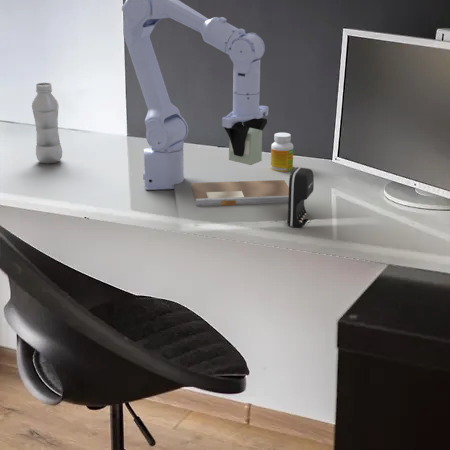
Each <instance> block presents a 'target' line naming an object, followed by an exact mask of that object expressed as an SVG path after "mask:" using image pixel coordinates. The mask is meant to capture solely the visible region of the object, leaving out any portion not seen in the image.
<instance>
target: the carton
mask: <svg viewBox="0 0 450 450" xmlns="http://www.w3.org/2000/svg"><path fill="white" fill-rule="evenodd" d="M262 151H263V131H262V130H259V129H254V128H249V131H248V133H247V136H246V140H245V150H244V155H243V156H242V157H240V156H236V155H234V152H233V148H232V144H231V141H230V138H229V137H228V160H229V161H232V162H235V163H239V164H240V163H241V164H244V165H248V166H253V165H255V164H257V163H259V162H262V160H263V159H262V158H263V157H262V155H263V154H262Z"/></svg>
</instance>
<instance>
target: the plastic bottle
mask: <svg viewBox="0 0 450 450" xmlns="http://www.w3.org/2000/svg"><path fill="white" fill-rule="evenodd" d="M35 87H36V88H35V91H36V93H37V94H36V95H35V97H34V99H33V101H32V104H31V108H32V109H31V110H32V114H33V119H34V123H35V129H36V130H35V131H36V145H35V156H36V158H37V159H36V160H37V161H38V162H39V163H41V164H54V163H58V162H60V161H61V159H62V157H63V148H62V145H61V142H60V135H59V127H58V126H59V123H58V122H59V103H58V100H57V99H56V97H55V96H54V94H53V93H52V92H53V88H52V83H50V82H38V83H36V86H35Z"/></svg>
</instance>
